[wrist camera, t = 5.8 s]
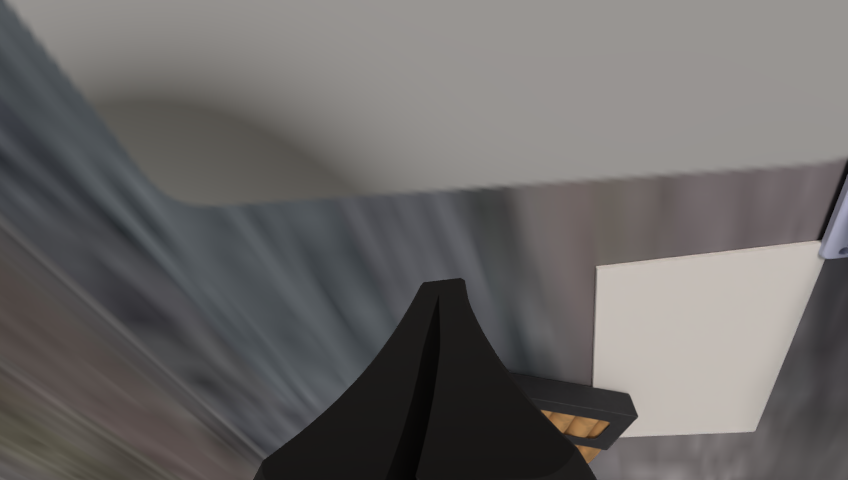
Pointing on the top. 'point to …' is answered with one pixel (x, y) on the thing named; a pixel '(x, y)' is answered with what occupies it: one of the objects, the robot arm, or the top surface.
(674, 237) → the top surface
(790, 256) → the mat
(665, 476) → the top surface
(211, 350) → the top surface
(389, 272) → the top surface
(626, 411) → the ammunition clip
